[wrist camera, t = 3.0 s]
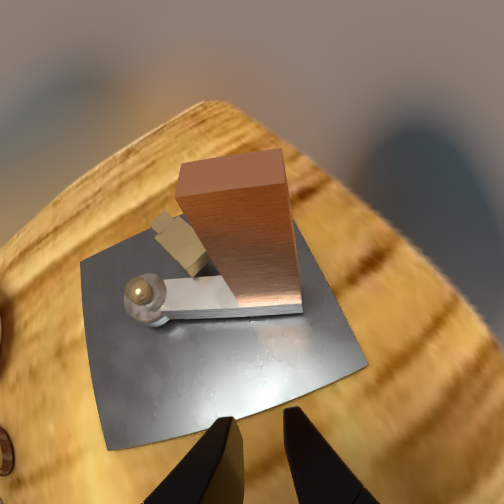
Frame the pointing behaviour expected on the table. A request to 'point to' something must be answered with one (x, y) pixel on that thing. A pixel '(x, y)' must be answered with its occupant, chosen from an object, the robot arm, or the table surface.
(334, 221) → the table surface
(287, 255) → the link
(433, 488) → the table surface
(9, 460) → the sauce bottle
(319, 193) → the table surface
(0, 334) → the paper bowls
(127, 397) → the base plate
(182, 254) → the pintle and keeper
